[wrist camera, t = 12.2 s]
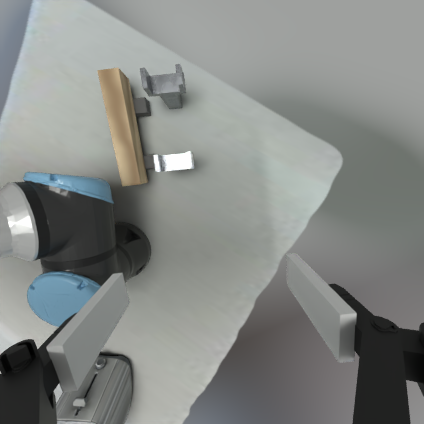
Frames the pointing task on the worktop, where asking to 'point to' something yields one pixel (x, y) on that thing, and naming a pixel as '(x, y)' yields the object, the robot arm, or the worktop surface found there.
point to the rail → (123, 126)
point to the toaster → (99, 394)
